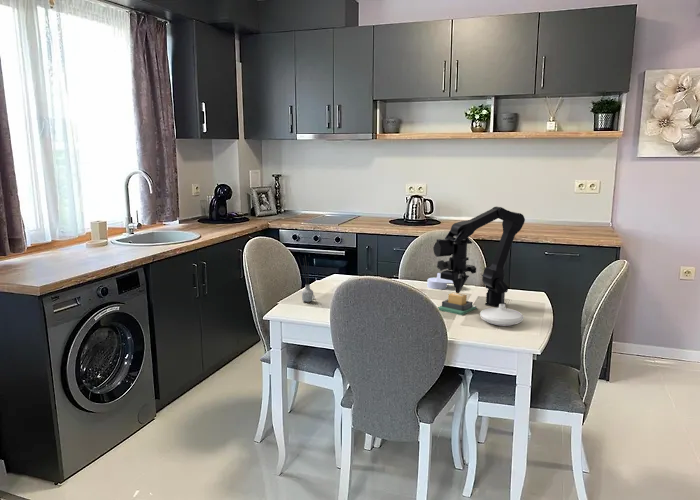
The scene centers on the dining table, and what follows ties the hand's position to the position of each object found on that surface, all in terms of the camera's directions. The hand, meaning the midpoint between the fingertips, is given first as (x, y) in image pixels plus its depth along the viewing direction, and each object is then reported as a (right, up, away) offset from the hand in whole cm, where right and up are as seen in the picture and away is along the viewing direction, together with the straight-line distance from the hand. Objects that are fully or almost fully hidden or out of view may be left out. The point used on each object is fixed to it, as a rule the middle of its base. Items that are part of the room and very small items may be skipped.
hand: (457, 292), depth 222 cm
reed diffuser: (-62, -5, +12) cm, 63 cm away
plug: (0, -6, +1) cm, 6 cm away
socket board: (0, -7, +1) cm, 7 cm away
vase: (+13, -10, -15) cm, 23 cm away
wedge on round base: (-1, 0, +35) cm, 35 cm away
